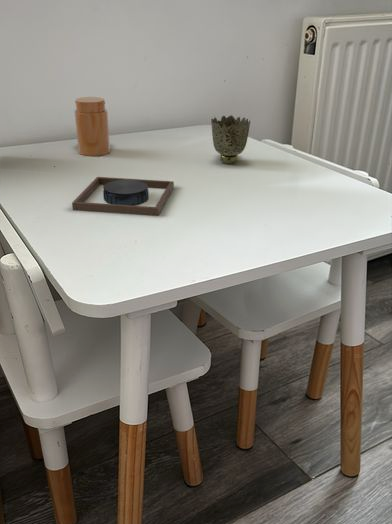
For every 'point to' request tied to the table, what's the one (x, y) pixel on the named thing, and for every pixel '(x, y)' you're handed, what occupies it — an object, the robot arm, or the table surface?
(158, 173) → the table surface
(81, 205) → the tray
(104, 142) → the jar
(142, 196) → the lid
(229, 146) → the cup
